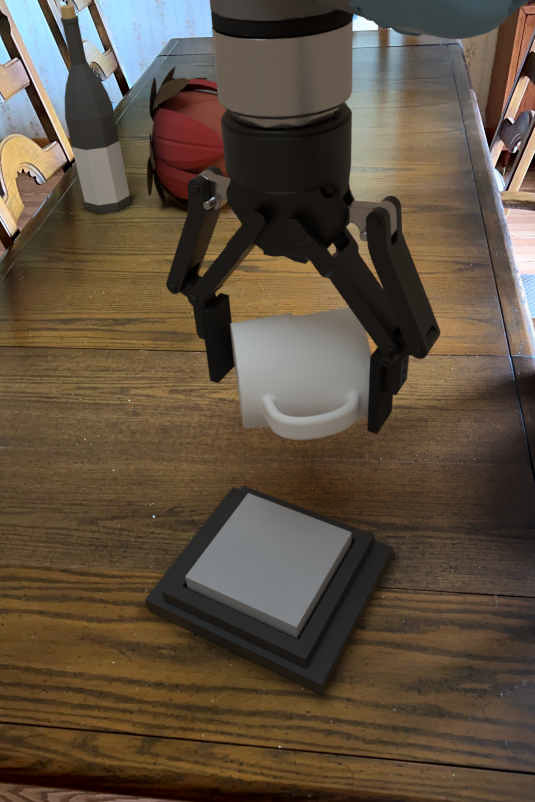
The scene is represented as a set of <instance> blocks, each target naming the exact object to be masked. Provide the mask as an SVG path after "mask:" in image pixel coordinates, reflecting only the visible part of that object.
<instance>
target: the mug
mask: <svg viewBox="0 0 535 802" xmlns="http://www.w3.org/2000/svg"><path fill="white" fill-rule="evenodd" d="M230 331H231V341H232V350H233V358H234V372H235V373H234V374H235V380H236V388H237V395H238V401H239V407H240V408H239V409H240V414H241V421H242V426H243V429H254V428H270V430H271V431H272V432H273V433H274V434H276V435H277V436H279V437H280V438H284V439H287V440H291V441H293V440H294V441H309V440H317V439H322V438H323V439H324V438H326V437H331V436H333V435H335V434H339V433H340V432H342V431H344V430H346V429H348V428H350V427H351V426H352V425H353V424H355V422H356V421H363V420H365V419H368V400H369V375H370V357H371V355H372V351H371V346H370V342H369V338H368V333H367V331H366V330H365V329H364V327H363V326H362V324H361V323H360V322H359V320H358V319H357V317H356V316H355V315H354V313H353V312H352V310H351V309H350V307H349V306H346V307H340V308H335V309H334V308H333V309H329V310H323V311H317V312H312V313H306V314H300V315H294V313H293V312H286V313H281V314H275V315H270V316H264V317H258V318H252V319H246V320H239V321H232V323H231V324H230Z"/></svg>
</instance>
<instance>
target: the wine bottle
mask: <svg viewBox="0 0 535 802" xmlns="http://www.w3.org/2000/svg"><path fill="white" fill-rule="evenodd" d="M59 9H60V14H61V17H60V22H61V24H62V28H63V33H64V38H65V42H66V47H67V51H68V56H69V60H70V67H69V70H68V75H67V79H66V82H65V89H64V121H65V123H66V127H67V128H66V129H67V131H68V136H69V140H70V146H71V150H72V152H73V153H72V154H73V157H74V162H75V166H76V167H75V168H76V171H77V174H78V179H79V183H80V188H81V192H82V196H83V200H84V204H85V208H86V210H87V211H89V212H92V213H96V214H100V215H103V214H108V213H115V212H120V211H121V210H123V209H125V208H127V207H128V206H130V205H131V195H130V190H129V185H128V179H127V174H126V169H125V164H124V159H123V152H122V148H121V143H120V138H119V133H118V127H117V121H116V115H115V111H114V106H113V103H112V100H111V98H110V96H109V93H108V91H107V90H106V87H105V86H104V83H103V82H102V80H101V79H100V78H99V76H98V75H97V74H96V72H95V71H94V70H93V68H92V67H91V65H90V64H89V62H88V61H87V58H86V52H85V47H84V43H83V37H82V33H81V28H80V23H79V22H80V20H79V16H78V15H77V14H76V9H75V4H70V3H69V4H63V5H60V6H59Z"/></svg>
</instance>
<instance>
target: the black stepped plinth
mask: <svg viewBox="0 0 535 802" xmlns="http://www.w3.org/2000/svg"><path fill="white" fill-rule="evenodd" d="M248 493H249V494H252V495H254V496H257V497H260V498H262V499H265V500H268V501H270V502H273V503H276V504H278V505H281V506H283V507H286V508H289V509H291V510H294V511H297V512H299V513H302V514H305V515H307V516H310V517H312V518H315V519H318V520H320V521H323V522H326V523H328V524H331V525H333V526H336V527H339V528H341V529H344V530H347V531H349V532H352V539H351V546H350V547H349V549H348V551H347V553H346V554H345V556H344V558H343V560H342V561H341V563H340V565H339V567H338V568H337V570H336V572H335V574H334V575H333V577H332V579H331V581H330V582H329V584H328V586H327V588H326V589H325V591H324V593H323V595H322V596H321V598H320V600H319V602H318V603H317V605H316V607H315V609H314V610H313V612H312V614H311V616H310V617H309V619H308V621H307V622H306V624H305V626H304V628H303V629H302V631H301V633H300V635H299V636H298V638H295V637H293V636H291V635H289V634H287V633H284V632H282V631H280V630H278V629H276V628H273V627H271V626H269V625H267V624H265V623H263V622H260V621H258V620H256V619H254V618H252V617H250V616H247V615H245V614H243V613H241V612H239V611H237V610H234V609H232V608H230V607H228V606H226V605H223V604H221V603H219V602H217V601H215V600H213V599H210V598H208V597H206V596H204V595H202V594H200V593H197V592H195V591H193V590H191V589H189V588H188V587H187V582H186V578H185V576H186V575H187V574H188V572H189V571H190V570H191V568H192V567H193V566H194V564H195V563H196V562H197V560H198V559H199V558H200V556H201V555H202V554H203V553H204V551H205V550H206V549H207V547H208V546H209V545H210V543H211V542H212V541H213V539H214V538H215V537H216V535H217V534H218V533H219V531H220V530H221V529H222V527H223V526H224V525H225V523H226V522H227V521H228V519H229V518H230V517H231V515H232V514H233V513H234V511H235V510H236V509H237V507H238V506H239V505H240V503H241V502H242V501H243V499H244V498H245V497H246V495H247V494H248ZM393 551H394V547H393V546H392V545H389V544H387V543H384V542H381V541H378V540H376V539H375V534H374V533H372V532H369V531H366V530H364V529H360V528H358V527H355V526H353V525H350V524H347V523H345V522H342V521H339V520H336V519H334V518H332V517H329V516H326V515H323V514H320V513H318V512H315V511H313V510H310V509H308V508H306V507H305V508H304V507H302V506H299V505H297V504H294V503H292V502H289V501H286V500H284V499H281V498H279V497H275V496H273V495H270V494H267V493H265V492H262V491H259V490H257V489H254V488H252V487H249V486H247V485H242V487H240V488H238V487H236V486H232V488H230V490H229V491H228V492H227V494H226V495H225V496H224V498H222V501H220V503H219V504H218V506H217V507H216V508H215V509H214V510H213V512H212V513H211V514H210V515H209V517H208V518H207V519H206V521H205V522H204V523H203V524H202V526H201V527H200V528H199V530H198V531H197V532H196V533H195V535H194V536H193V537H192V539H191V540H190V541H189V542H188V544H187V545H186V546H185V547H184V549H183V550H182V552H181V553H180V554H179V555H178V556H177V558H176V559H175V560H174V561H173V563H172V564H171V565H170V566H169V568H168V570H167V571H166V572H165V573H164V574H163V576H162V577H161V579H159V581H158V582H157V583H156V585H155V586H154V588H153V589H152V590H151V591H150V593H149V594H148V595H147V597H145V599H144V601H145V604H146V607H147V611H149V612H150V613H152V614H154V615H156V616H158V617H160V618H162V619H164V620H166V621H169V622H171V623H173V624H175V625H177V626H179V627H181V628H183V629H184V630H187V631H189V632H191V633H193V634H195V635H198V636H199V637H201V638H203V639H206V640H208V641H209V642H212V643H213V644H215V645H218V646H220V647H222V648H224V649H226V650H228V651H230V652H232V653H234V654H235V655H238V656H240V657H242V658H245V659H247V660H249V661H250V662H253V663H255V664H256V665H259V666H261V667H263V668H265V669H267V670H269V671H271V672H273V673H275V674H277V675H279V676H282V677H283V678H285V679H288V680H290V681H292V682H294V683H296V684H298V685H300V686H302V687H304V688H306V689H308V690H310V691H312V692H314V693H316V694H318V695H320V696H323V694H324V693H325V690H326V688H327V687H328V685H329V683H330V681H331V679H332V678H333V675H334V673H335V671H336V669H337V668H338V665H339V663H340V662H341V659H342V657H343V655H344V653H345V651H346V649H347V648H348V646H349V644H350V643H351V640H352V637H353V636H354V634H355V632H356V630H357V628H358V626H359V624H360V622H361V620H362V618H363V616H364V614H365V613H366V611H367V608H368V607H369V604H370V602H371V601H372V599H373V597H374V594H375V593H376V591H377V589H378V587H379V584H380V583H381V581H382V579H383V577H384V575H385V573H386V571H387V569H388V568H389V565H390V563H391V562H392V559H393V553H394V552H393Z"/></svg>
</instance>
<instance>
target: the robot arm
mask: <svg viewBox="0 0 535 802" xmlns="http://www.w3.org/2000/svg"><path fill="white" fill-rule="evenodd" d="M529 2H530V0H209V7H210V8H209V9H210V17H211V34H212V45H213V58H214V67H215V68H214V69H215V79H216V81H215V82H216V83H217V92H216V93H217V94H218V101H219V102H220V104H221V105H222V106H223V107H224V108H225V109H226V111H225V113H224V115H223V116H222V118H221V127H222V138H223V148H224V158H225V168H226V172H227V174H228V176H229V178H227V177H224V176H223V173H222V171H221V170H220V169H219V168H218V167H217V166H211V167H209V168H208V169H206V170H205V171H203V172H202V173H200V174H198V175H197V176H196V177H194V178H193V179H191V180H189V182H188V186H187V187H188V200H187V205H188V210H187V214H186V217H185V220H184V224H183V226H182V230H181V233H180V237H179V239H178V242H177V243H178V244H177V246H176V250H175V253H174V256H173V258H172V259H173V260H172V262H171V265H170V269H169V272H168V276H167V279H166V283H165V286H166V289H167V290H168V292H169V293H170V294H173V295H178V294H179V293H180V294H181V295H184V296H185V297H186V298H187V301H188V303H189V304H190V305H191V306H192V311H193V318H194V324H195V325H194V326H195V331H196V334H197V336H198V338H199V339H201V340H204V346H205V354H206V360H207V368H208V376H209V381H210V382H213V383H216V384H219V383H221V381H222V380H223V379H224V378H225V377H226V376H227V375H228V374H229V373H230V372H231V371H233V369H234V368H235V366H234V358H233V350H232V341H231V331H230V324H231V323H233V320H232V319H233V318H232V311H231V302H230V295H229V294H228V293H227V294H226V293H223V292H219V293H218V295H217V292H218V291H219V290H220V289H221V288H222V287H224V284H225V283H226V282H227V280H229V278H230V277H231V276H232V274H234V272H235V271H236V270H237V268H238V267H239V266H240V265H241V264H242V263H243V261H244V260H245V259H246V258H247V257H248V256H249V254H250V253H251V252H252V251H253V249H254V248H255V247H258V248H259V249H260V250H261V251H262V252H263V253H262V254H263V255H264V256H268V257H272V258H275V257H276V258H281V257H285V258H287V259H289V260H291V261H293V262H295V263H300V264H303V265H307V264H308V263H309V262H310V263H311V264H312V265H313V268H315V270H316V271H317V273H318V274H319V275H320V276H321V277H322V278H325V279H328V280H329V281H330V282H331V283H332V285H333V287H334V288H335V289H336V291H337V292H338V293H339V295H340V296H341V298H342V299H343V300H344V302H345V304H346V305H347V307H350V309H351V310H352V312H353V313H354V315H355V316H356V317H357V319H358V320H359V322H360V323H361V324H362V326H363V327H364V329H365V331H366V334H367V335H368V336H369V338H371V340H372V341H373V343H374V344H375V346H376V348H375V350H374V351H373V353H371V357H370V375H369V400H368V417H367V427H366V431H367V432H369V433H372V434H375V435H378V434H379V432H380V431H381V429H382V427H383V426H384V425H385V423H386V422H387V420H388V419H389V417H390V416H391V414H392V412H393V400H394V396H397V395H398V393H400V390H401V389H402V387H403V386H404V384H405V383H406V381H408V372H409V363H410V356H411V357H413V358H414V359H417V360H423V359H425V358H426V357H427V356H428V354H429V353H430V352H431V350H432V348H433V347H434V346H435V344H436V342H437V341H438V339H439V338H440V336H441V329H440V327H439V324H438V320H437V318H436V316H435V313H434V310H433V308H432V305H431V303H430V300H429V298H428V295H427V293H426V290H425V288H424V285H423V282H422V280H421V277H420V275H419V272H418V270H417V267H416V264H415V262H414V259H413V256H412V254H411V251H410V249H409V246H408V244H407V241H406V239H405V235H404V234H403V218H402V216H403V214H402V202H401V201H400V199H399V198H398V197H396V195H395V196H394V195H386V196H385V197H384V198H383V199H382V200H381V201H379V202H378V201H364V200H356V199H355V197H354V195H353V193H352V190H351V185H350V179H351V178H350V177H351V170H352V169H351V168H352V144H353V143H352V141H353V140H352V136H353V134H352V133H353V130H352V129H353V112H352V109H351V108H350V107H349V106H348V104H347V103H346V102H347V101H348V100H349V99H350V98H351V96H352V93H353V42H354V41H353V40H354V39H353V37H354V36H353V35H354V33H353V32H354V31H353V29H354V28H353V27H354V26H353V25H354V21H353V20H354V17H355V16H358V17H361V18H364V20H365V21H366V20H367V21H368V22H373V23H374V24H375V25H376V26H377V27H380V28H382V29H386V30H387V29H392V30H393V31H394V32H396V33H397V34H400V35H404V36H413V37H420V36H422V35H423V36H430V37H436V38H439V39H446V40H447V39H448V40H464V39H471V38H475V37H478V36H479V37H480V36H483V35H486V34H488V33H490V32H492V31H494V30H497V28H498V27H500V25H502V24H503V23H505V22H506V20H507V19H508V18H509V17H510V16H512V15H513V14H514V13H515V12H516V11H517V10H518V9H520V8H521V7H523V6H524V5H526V4H527V3H529ZM226 204H228V205H229V207H230V209H231V210H232V212H233V213H234V215H235V217H236V218H237V219H238V221H239V222H240V224H241V225H240V226H239V227H238V229H237V230H236V232H234V234H233V235H232V236H231V237H230V238H229V240H228V241H227V243H226V244H225V245H226V246H225V247H224V248H223V249H222V251H221V252H220V253H219V255H218V256H217V257H216V258H215V259H214V260H213V262H212V263H211V265H210V266H209V267H208V269H207V270H206V271H205V272H204V273H203V275H202V276H201V275H200V271H201V269H202V266H203V263H204V260H205V257H206V254H207V251H208V248H209V246H210V243H211V240H212V238H213V234H214V232H215V228H216V226H217V223H218V220H219V218H220V215H221V212H222V208H223V206H224V205H226ZM350 224H353V225H355V226H356V227H357V229H358V231H359V239H360V241H362V242H366V244H367V250H368V254H369V258H370V260H371V263H372V265H373V267H374V270H375V272H376V274H377V277H378V279H377V278H376V276H375V275H374V273H373V272H372V270H371V269H370V267H369V266H368V265H367V263H366V262H365V260H364V259H363V257H362V256H361V253H360V249H359V248H360V247H359V244H358V242H357V240H356V239H355V237H354V236H353V235H352V234H351V232H350V230H349V229H348V226H349V225H350ZM332 245H333V246H334V248H335V252H334V253H333V254H331V252H330V251H329V249H330V247H331V246H332Z"/></svg>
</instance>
